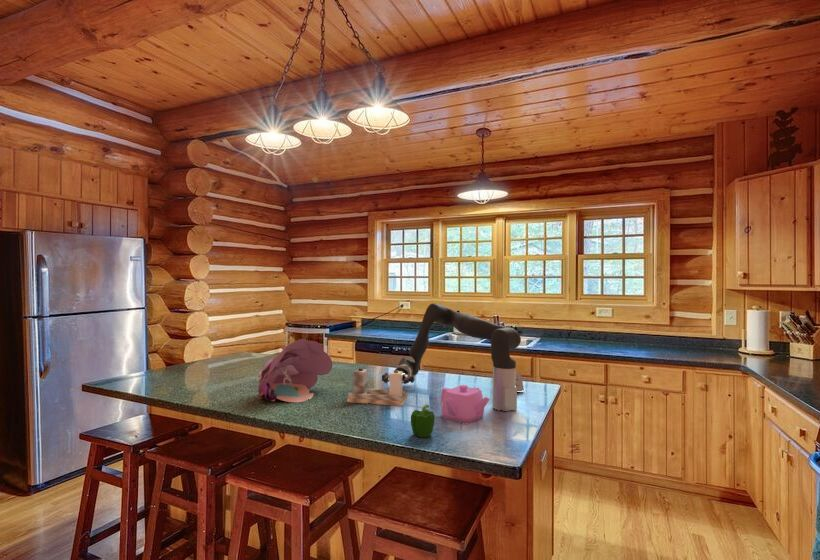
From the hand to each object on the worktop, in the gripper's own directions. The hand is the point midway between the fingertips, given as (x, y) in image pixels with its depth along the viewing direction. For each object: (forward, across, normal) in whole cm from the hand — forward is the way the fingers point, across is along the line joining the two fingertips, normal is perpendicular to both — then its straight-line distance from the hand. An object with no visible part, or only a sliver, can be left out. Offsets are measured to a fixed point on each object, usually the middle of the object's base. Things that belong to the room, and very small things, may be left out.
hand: (395, 381), depth 185 cm
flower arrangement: (+2, -47, +9) cm, 48 cm away
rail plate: (-2, -8, +9) cm, 12 cm away
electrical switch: (-30, +51, +9) cm, 60 cm away
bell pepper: (+36, +18, +9) cm, 41 cm away
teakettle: (+14, +30, +9) cm, 35 cm away
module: (-2, 0, +8) cm, 8 cm away
